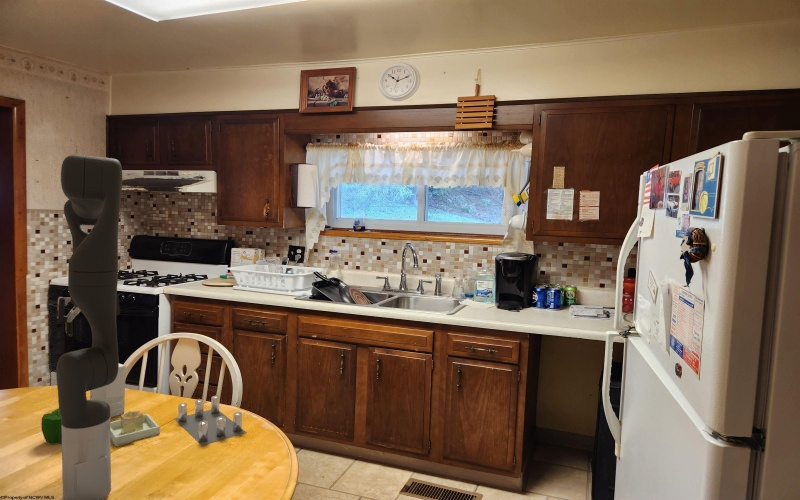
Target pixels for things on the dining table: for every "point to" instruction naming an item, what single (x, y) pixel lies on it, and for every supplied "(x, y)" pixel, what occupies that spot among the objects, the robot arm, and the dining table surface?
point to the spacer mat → (193, 427)
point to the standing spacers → (204, 424)
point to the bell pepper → (52, 427)
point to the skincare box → (112, 393)
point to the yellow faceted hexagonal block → (131, 422)
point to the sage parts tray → (148, 430)
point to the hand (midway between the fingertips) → (89, 333)
